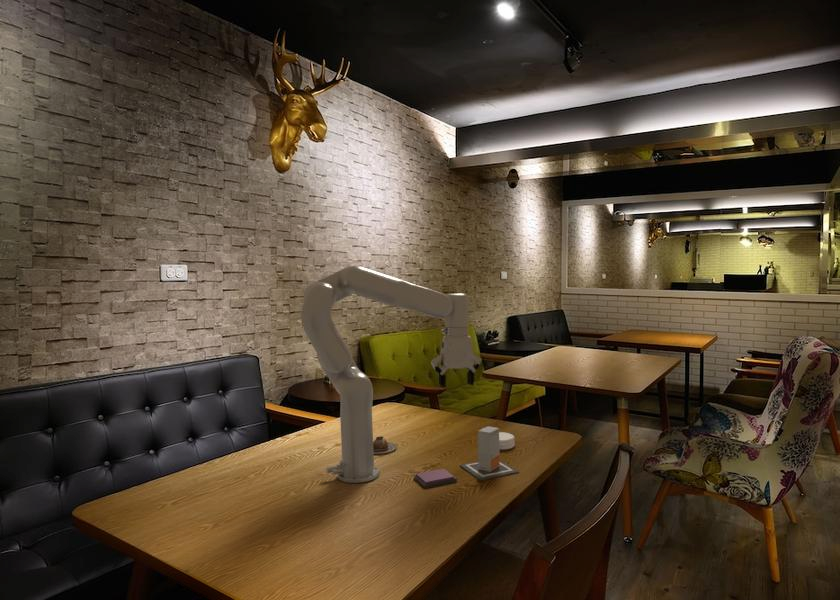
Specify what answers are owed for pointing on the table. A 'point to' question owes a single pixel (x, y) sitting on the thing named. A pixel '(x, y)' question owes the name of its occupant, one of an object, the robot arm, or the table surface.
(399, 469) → the table surface
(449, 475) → the ink pad
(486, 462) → the skincare box
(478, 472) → the mat
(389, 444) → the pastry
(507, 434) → the white round disc
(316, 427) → the table surface
